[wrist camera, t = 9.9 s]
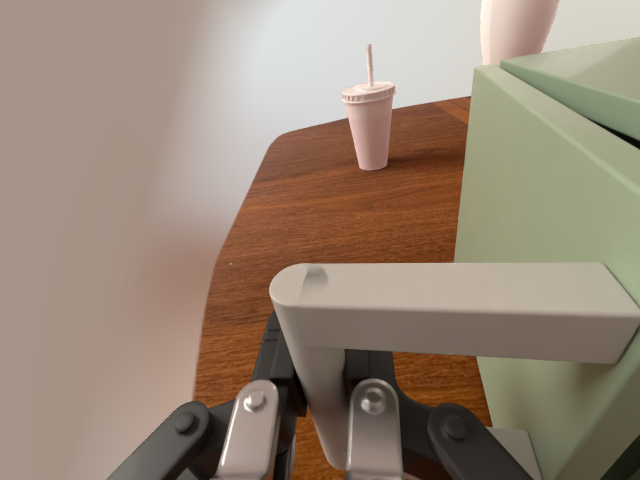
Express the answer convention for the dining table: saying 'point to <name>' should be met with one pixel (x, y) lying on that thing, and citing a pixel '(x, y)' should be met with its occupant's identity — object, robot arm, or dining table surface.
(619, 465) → the cupboard
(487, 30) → the cup
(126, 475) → the robot arm
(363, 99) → the smoothie
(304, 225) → the dining table surface
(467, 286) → the door
